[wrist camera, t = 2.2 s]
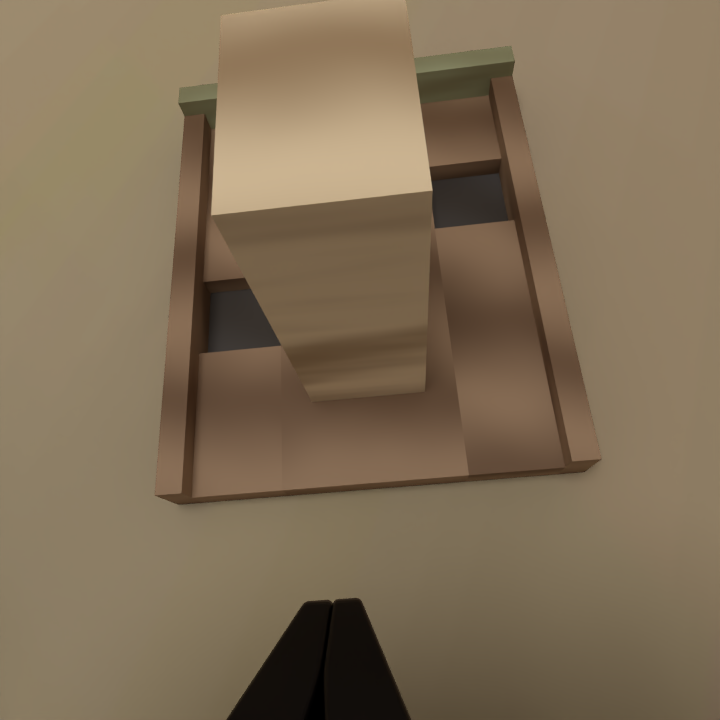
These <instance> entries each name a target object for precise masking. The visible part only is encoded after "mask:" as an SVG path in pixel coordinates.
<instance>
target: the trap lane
mask: <svg viewBox="0 0 720 720" xmlns="http://www.w3.org/2000/svg"><path fill="white" fill-rule="evenodd" d="M414 62H415V69H416V77H417V84H418V91H419V98H420V105H421V112H422V119H423V126H424V133H425V140H426V148H427V155H428V162H429V169H430V176H431V183H432V190H433V192H432V219H431V246H430V273H429V300H428V327H427V353H426V380H425V392H417V393H406V394H395V395H384V396H373V397H362V398H351V399H340V400H329V401H318V402H312V401H311V399H310V397H309V395H308V393H307V391H306V390H305V388H304V386H303V384H302V382H301V380H300V379H299V377H298V375H297V373H296V371H295V369H294V367H293V366H292V364H291V362H290V360H289V358H288V356H287V355H286V353H285V351H284V349H283V347H282V345H281V344H280V342H279V340H278V338H277V336H276V334H275V332H274V331H273V329H272V327H271V325H270V323H269V321H268V320H267V318H266V316H265V314H264V312H263V310H262V308H261V307H260V305H259V303H258V301H257V299H256V297H255V296H254V294H253V292H252V290H251V288H250V286H249V284H248V283H247V281H246V279H245V277H244V275H243V273H242V272H241V270H240V268H239V266H238V264H237V262H236V260H235V259H234V257H233V255H232V253H231V251H230V249H229V248H228V246H227V244H226V242H225V240H224V238H223V236H222V235H221V233H220V231H219V229H218V227H217V225H216V224H215V222H214V220H213V218H212V216H211V207H212V187H213V167H214V147H215V127H216V107H217V87H218V83H215V84H207V85H199V86H192V87H184V88H180V90H179V102H178V103H179V105H180V107H181V110H182V112H183V114H184V116H185V119H184V132H183V144H182V157H181V170H180V182H179V195H178V208H177V220H176V233H175V246H174V258H173V271H172V284H171V296H170V309H169V322H168V334H167V347H166V360H165V372H164V385H163V398H162V410H161V423H160V436H159V448H158V461H157V474H156V486H155V496H158V497H160V498H163V499H165V500H168V501H171V502H173V503H176V504H190V503H202V502H215V501H227V500H240V499H252V498H265V497H277V496H290V495H302V494H315V493H327V492H340V491H352V490H364V489H377V488H389V487H402V486H414V485H427V484H439V483H452V482H464V481H477V480H489V479H502V478H514V477H527V476H539V475H551V474H564V473H576V472H585V471H586V470H587V469H589V468H590V467H591V466H593V465H594V464H596V463H597V462H598V461H600V460H601V455H600V451H599V446H598V442H597V438H596V433H595V429H594V425H593V421H592V416H591V412H590V408H589V403H588V399H587V395H586V390H585V386H584V382H583V378H582V373H581V369H580V365H579V360H578V356H577V352H576V348H575V343H574V339H573V335H572V330H571V326H570V322H569V318H568V313H567V309H566V305H565V300H564V296H563V292H562V287H561V283H560V279H559V275H558V270H557V266H556V262H555V257H554V253H553V249H552V245H551V240H550V236H549V232H548V227H547V223H546V219H545V215H544V210H543V206H542V202H541V197H540V193H539V189H538V185H537V180H536V176H535V172H534V167H533V163H532V159H531V154H530V150H529V146H528V142H527V137H526V133H525V129H524V124H523V120H522V116H521V112H520V107H519V103H518V99H517V94H516V90H515V86H514V82H513V77H512V74H513V68H514V63H515V60H514V56H513V51H512V47H511V46H506V47H498V48H490V49H483V50H475V51H467V52H459V53H451V54H443V55H435V56H428V57H420V58H414Z"/></svg>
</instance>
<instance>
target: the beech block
mask: <svg viewBox="0 0 720 720" xmlns="http://www.w3.org/2000/svg"><path fill="white" fill-rule="evenodd" d="M432 192H433V190H432V183H431V176H430V169H429V162H428V155H427V148H426V140H425V133H424V126H423V119H422V112H421V105H420V98H419V91H418V84H417V77H416V69H415V62H414V55H413V48H412V41H411V34H410V27H409V20H408V13H407V6H406V0H330V1H323V2H316V3H308V4H301V5H293V6H286V7H279V8H271V9H264V10H256V11H249V12H241V13H234V14H227V15H221V27H220V47H219V67H218V87H217V107H216V127H215V147H214V167H213V187H212V207H211V216H212V218H213V220H214V222H215V224H216V225H217V227H218V229H219V231H220V233H221V235H222V236H223V238H224V240H225V242H226V244H227V246H228V248H229V249H230V251H231V253H232V255H233V257H234V259H235V260H236V262H237V264H238V266H239V268H240V270H241V272H242V273H243V275H244V277H245V279H246V281H247V283H248V284H249V286H250V288H251V290H252V292H253V294H254V296H255V297H256V299H257V301H258V303H259V305H260V307H261V308H262V310H263V312H264V314H265V316H266V318H267V320H268V321H269V323H270V325H271V327H272V329H273V331H274V332H275V334H276V336H277V338H278V340H279V342H280V344H281V345H282V347H283V349H284V351H285V353H286V355H287V356H288V358H289V360H290V362H291V364H292V366H293V367H294V369H295V371H296V373H297V375H298V377H299V379H300V380H301V382H302V384H303V386H304V388H305V390H306V391H307V393H308V395H309V397H310V399H311V401H312V402H318V401H329V400H340V399H351V398H362V397H373V396H384V395H395V394H406V393H417V392H425V380H426V353H427V327H428V300H429V273H430V246H431V219H432Z"/></svg>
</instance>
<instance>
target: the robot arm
mask: <svg viewBox="0 0 720 720" xmlns="http://www.w3.org/2000/svg"><path fill="white" fill-rule="evenodd" d="M227 720H411V718H410V716H409V713H408V711H407V709H406V706H405V704H404V701H403V699H402V697H401V694H400V692H399V690H398V687H397V685H396V682H395V680H394V678H393V675H392V673H391V670H390V668H389V666H388V663H387V661H386V658H385V656H384V654H383V651H382V649H381V646H380V644H379V642H378V639H377V637H376V634H375V632H374V630H373V627H372V625H371V622H370V620H369V618H368V615H367V613H366V610H365V608H364V606H363V603H362V601H361V600H360V599H359V598H349V599H337V600H335V601H334V603H332V602H331V601H329V600H320V601H308V602H306V603H304V604H303V605H302V607H301V608H300V610H299V611H298V613H297V614H296V616H295V617H294V619H293V620H292V622H291V623H290V625H289V626H288V628H287V629H286V631H285V632H284V634H283V635H282V637H281V638H280V640H279V641H278V643H277V644H276V646H275V647H274V649H273V650H272V652H271V653H270V655H269V656H268V658H267V659H266V661H265V662H264V664H263V665H262V667H261V668H260V670H259V671H258V673H257V674H256V676H255V677H254V679H253V680H252V682H251V683H250V685H249V686H248V688H247V689H246V691H245V692H244V694H243V695H242V697H241V698H240V700H239V701H238V703H237V704H236V706H235V707H234V709H233V710H232V712H231V713H230V715H229V716H228V718H227Z"/></svg>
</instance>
